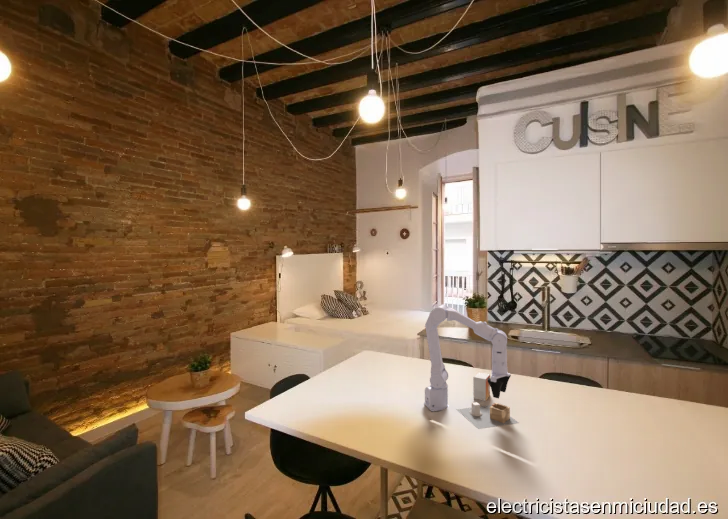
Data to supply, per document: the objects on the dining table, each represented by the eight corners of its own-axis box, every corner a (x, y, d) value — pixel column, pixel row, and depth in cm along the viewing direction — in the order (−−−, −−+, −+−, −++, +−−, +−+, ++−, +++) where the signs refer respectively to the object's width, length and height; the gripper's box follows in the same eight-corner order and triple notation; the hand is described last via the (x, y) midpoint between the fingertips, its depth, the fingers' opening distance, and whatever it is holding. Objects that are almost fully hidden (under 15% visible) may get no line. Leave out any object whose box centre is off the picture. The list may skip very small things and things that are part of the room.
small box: (485, 402, 147) (485, 379, 147) (473, 399, 151) (473, 376, 150) (490, 396, 154) (490, 374, 154) (478, 393, 157) (478, 371, 157)
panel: (478, 430, 124) (478, 418, 124) (456, 411, 139) (456, 400, 139) (519, 424, 128) (519, 412, 128) (493, 406, 144) (493, 395, 144)
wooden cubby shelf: (503, 423, 128) (503, 410, 128) (489, 418, 132) (489, 406, 132) (509, 418, 132) (509, 406, 132) (496, 413, 136) (496, 401, 136)
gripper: (503, 367, 125) (503, 403, 126) (515, 358, 136) (515, 391, 137) (485, 364, 130) (485, 398, 130) (497, 355, 141) (497, 387, 141)
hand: (499, 394), depth 134 cm, fingers open, 7 cm apart
